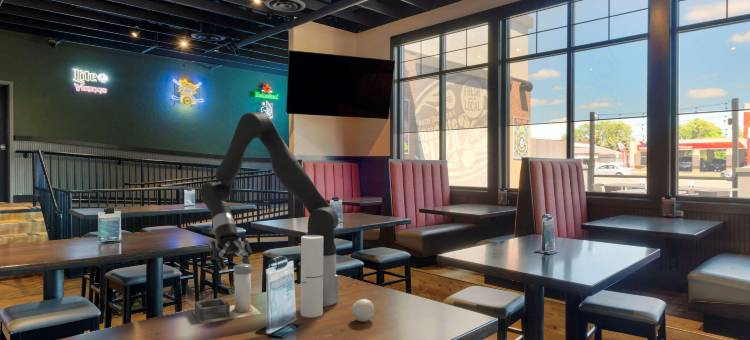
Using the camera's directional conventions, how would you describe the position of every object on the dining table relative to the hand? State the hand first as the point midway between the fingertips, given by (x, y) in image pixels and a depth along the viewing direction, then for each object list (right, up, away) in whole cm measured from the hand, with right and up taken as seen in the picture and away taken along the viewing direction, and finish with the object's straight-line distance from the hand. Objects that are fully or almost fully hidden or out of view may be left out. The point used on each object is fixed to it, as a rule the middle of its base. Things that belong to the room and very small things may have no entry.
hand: (235, 268), depth 158 cm
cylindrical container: (+27, -13, -8) cm, 31 cm away
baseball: (+44, -14, -15) cm, 48 cm away
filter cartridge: (+5, -11, -10) cm, 16 cm away
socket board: (+1, -13, -13) cm, 18 cm away
